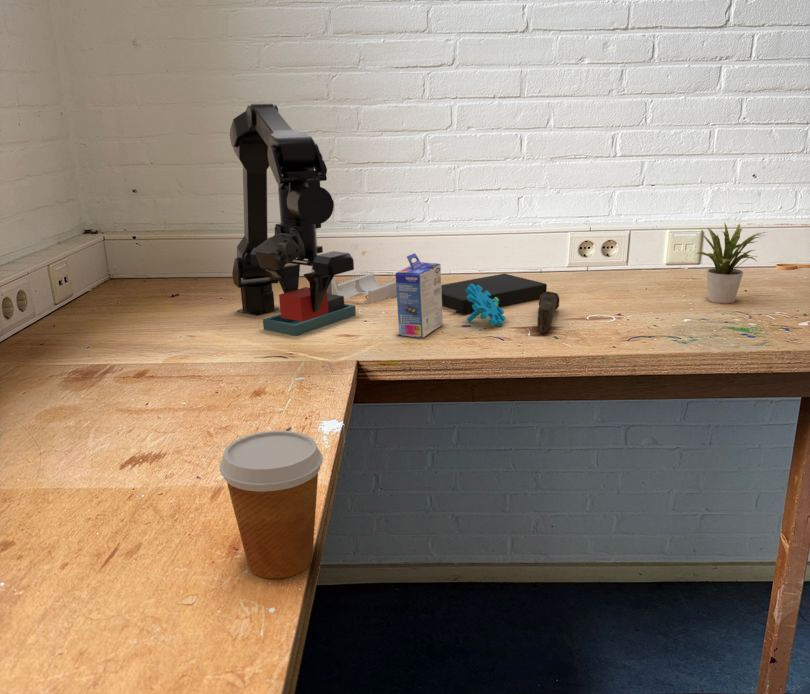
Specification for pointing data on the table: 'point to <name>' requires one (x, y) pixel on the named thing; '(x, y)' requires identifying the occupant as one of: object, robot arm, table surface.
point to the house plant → (726, 266)
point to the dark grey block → (335, 302)
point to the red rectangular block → (300, 305)
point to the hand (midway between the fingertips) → (304, 309)
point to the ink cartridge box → (419, 298)
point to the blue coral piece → (484, 305)
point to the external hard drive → (492, 291)
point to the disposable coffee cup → (274, 499)
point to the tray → (307, 321)
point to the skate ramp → (363, 288)
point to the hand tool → (547, 310)
